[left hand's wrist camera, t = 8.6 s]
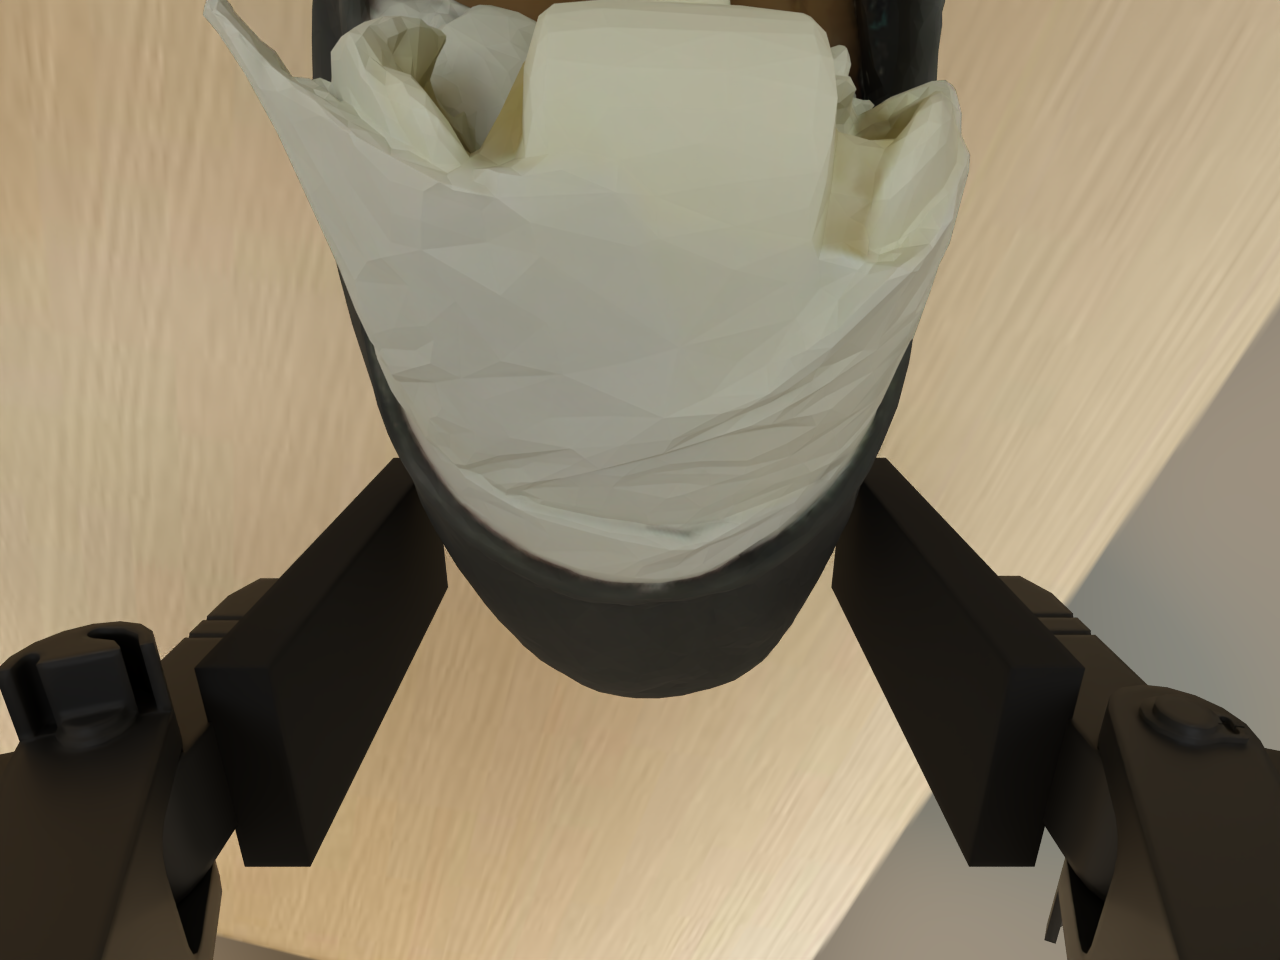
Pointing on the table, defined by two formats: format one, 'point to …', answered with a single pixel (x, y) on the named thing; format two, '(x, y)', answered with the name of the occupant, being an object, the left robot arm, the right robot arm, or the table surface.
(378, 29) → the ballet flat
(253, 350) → the table surface
